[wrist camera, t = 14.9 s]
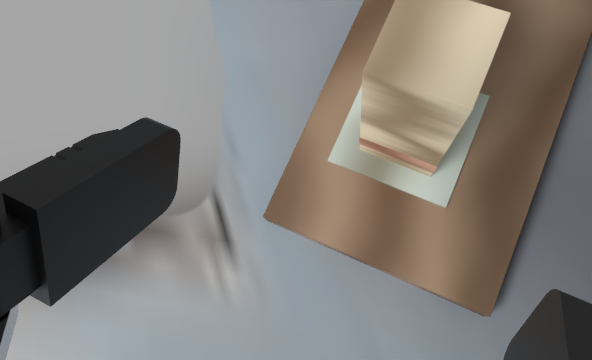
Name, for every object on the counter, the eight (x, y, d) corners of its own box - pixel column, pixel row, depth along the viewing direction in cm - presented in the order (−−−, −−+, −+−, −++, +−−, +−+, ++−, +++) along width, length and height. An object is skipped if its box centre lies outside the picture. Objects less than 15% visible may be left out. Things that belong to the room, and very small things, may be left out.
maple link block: (457, 110, 28) (511, 12, 18) (430, 177, 27) (472, 111, 17) (387, 86, 29) (403, -20, 19) (358, 149, 28) (361, 72, 18)
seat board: (590, 14, 30) (604, -2, 29) (482, 315, 26) (491, 317, 25) (390, -44, 33) (392, -61, 31) (267, 220, 29) (262, 216, 28)
